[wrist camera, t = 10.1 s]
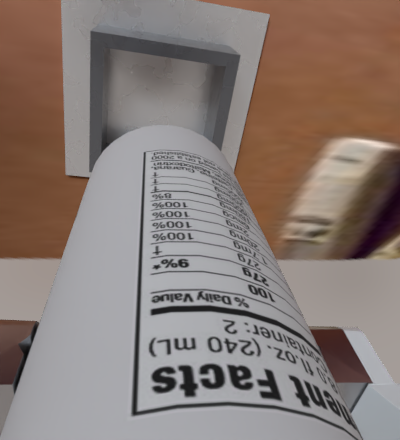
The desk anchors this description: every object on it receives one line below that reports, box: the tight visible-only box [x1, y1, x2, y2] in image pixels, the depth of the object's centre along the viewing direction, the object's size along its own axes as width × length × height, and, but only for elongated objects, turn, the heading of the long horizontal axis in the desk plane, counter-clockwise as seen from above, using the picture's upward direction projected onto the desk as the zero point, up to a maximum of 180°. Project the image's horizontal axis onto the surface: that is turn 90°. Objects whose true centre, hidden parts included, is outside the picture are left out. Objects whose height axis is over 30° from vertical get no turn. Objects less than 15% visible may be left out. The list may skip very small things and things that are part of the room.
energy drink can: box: [0, 125, 363, 440], centre depth 10 cm, size 6×6×15 cm
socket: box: [61, 0, 270, 177], centre depth 27 cm, size 14×14×5 cm
